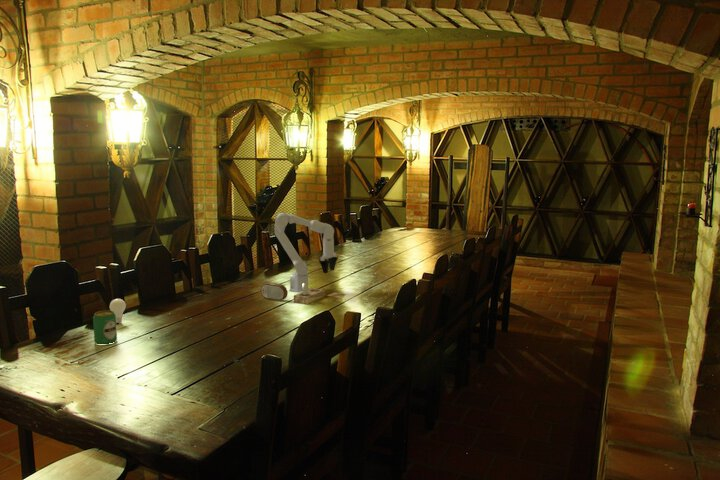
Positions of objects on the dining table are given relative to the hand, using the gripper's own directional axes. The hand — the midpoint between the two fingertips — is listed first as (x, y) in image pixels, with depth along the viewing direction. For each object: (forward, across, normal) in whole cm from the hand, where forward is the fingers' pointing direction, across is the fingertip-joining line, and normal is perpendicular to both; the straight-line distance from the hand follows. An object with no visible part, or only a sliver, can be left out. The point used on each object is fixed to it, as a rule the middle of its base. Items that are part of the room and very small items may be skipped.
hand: (328, 271), depth 299 cm
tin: (+10, -30, +16) cm, 36 cm away
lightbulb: (+9, -95, +52) cm, 109 cm away
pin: (+10, -26, -1) cm, 28 cm away
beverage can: (+9, -114, +36) cm, 120 cm away
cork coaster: (+10, -8, -10) cm, 16 cm away
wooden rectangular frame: (+10, -21, 0) cm, 24 cm away
